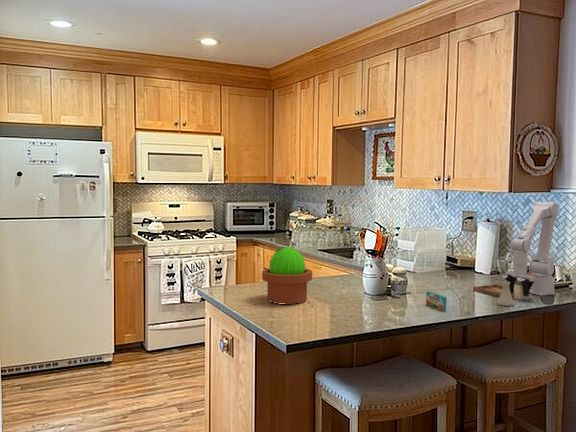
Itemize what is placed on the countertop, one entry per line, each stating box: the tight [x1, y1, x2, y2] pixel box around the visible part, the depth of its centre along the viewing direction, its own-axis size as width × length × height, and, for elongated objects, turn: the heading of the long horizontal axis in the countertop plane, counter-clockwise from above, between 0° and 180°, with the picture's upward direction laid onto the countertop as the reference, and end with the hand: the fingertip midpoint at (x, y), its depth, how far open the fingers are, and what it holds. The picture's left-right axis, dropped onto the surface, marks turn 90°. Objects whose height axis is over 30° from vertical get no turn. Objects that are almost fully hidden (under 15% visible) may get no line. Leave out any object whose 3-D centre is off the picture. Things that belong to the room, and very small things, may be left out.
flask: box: [496, 281, 515, 307], centre depth 226 cm, size 7×7×10 cm
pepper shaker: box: [513, 280, 525, 301], centre depth 236 cm, size 4×4×8 cm
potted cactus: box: [261, 246, 313, 305], centre depth 232 cm, size 22×22×25 cm
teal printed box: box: [425, 290, 447, 312], centre depth 220 cm, size 12×2×6 cm, turn 20°
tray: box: [473, 284, 514, 298], centre depth 250 cm, size 15×15×2 cm
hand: (518, 294), depth 237 cm, fingers open, 7 cm apart
